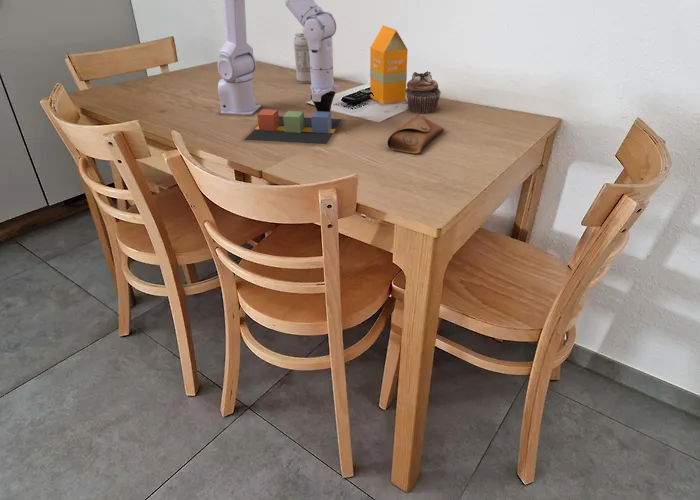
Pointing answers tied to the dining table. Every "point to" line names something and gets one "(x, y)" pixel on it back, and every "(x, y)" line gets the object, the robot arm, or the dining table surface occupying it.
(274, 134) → the line mat
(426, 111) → the cupcake
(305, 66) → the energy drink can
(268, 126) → the terracotta block
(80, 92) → the dining table surface
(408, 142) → the sunglasses case
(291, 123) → the sage block
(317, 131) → the blue block
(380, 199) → the dining table surface
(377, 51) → the orange juice
